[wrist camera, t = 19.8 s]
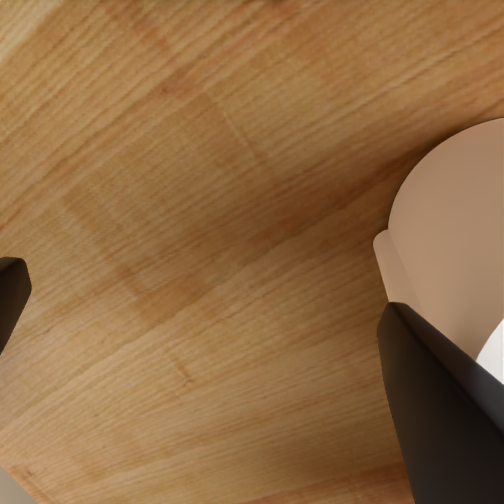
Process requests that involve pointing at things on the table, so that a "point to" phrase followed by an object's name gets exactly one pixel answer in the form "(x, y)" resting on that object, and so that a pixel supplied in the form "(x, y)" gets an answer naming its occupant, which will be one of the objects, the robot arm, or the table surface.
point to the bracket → (453, 242)
